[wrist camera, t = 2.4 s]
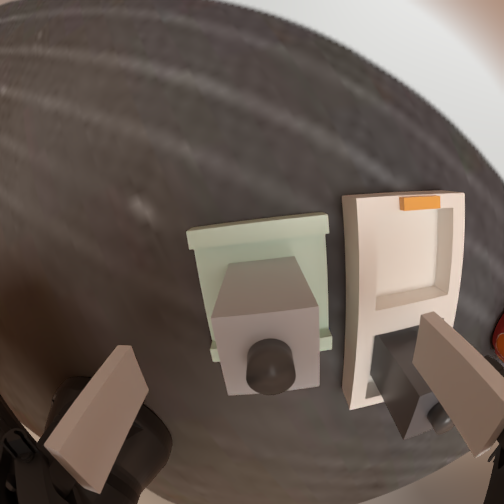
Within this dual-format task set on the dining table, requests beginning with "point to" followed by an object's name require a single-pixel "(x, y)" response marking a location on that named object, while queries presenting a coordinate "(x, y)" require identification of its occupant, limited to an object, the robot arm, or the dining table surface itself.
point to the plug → (267, 328)
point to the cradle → (263, 256)
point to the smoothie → (499, 339)
